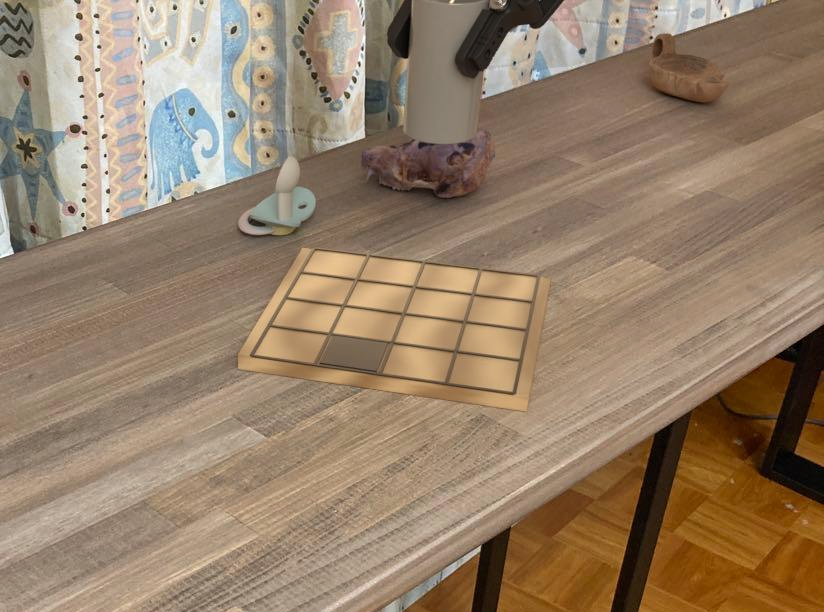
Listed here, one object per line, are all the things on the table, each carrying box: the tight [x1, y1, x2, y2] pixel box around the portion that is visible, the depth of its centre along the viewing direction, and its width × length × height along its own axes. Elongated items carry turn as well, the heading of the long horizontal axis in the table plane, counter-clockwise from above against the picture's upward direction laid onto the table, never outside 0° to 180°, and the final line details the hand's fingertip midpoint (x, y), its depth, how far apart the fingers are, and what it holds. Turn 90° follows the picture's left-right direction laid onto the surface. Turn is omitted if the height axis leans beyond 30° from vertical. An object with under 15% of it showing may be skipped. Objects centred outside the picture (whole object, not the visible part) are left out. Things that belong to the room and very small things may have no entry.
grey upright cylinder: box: [402, 0, 490, 144], centre depth 76 cm, size 5×5×9 cm
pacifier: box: [237, 155, 317, 236], centre depth 95 cm, size 7×6×6 cm
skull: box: [360, 127, 496, 199], centre depth 103 cm, size 12×8×6 cm, turn 68°
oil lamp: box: [648, 32, 730, 103], centre depth 125 cm, size 13×8×5 cm, turn 12°
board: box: [237, 246, 552, 412], centre depth 83 cm, size 20×18×1 cm
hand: (429, 59), depth 75 cm, fingers closed on grey upright cylinder, 5 cm apart
